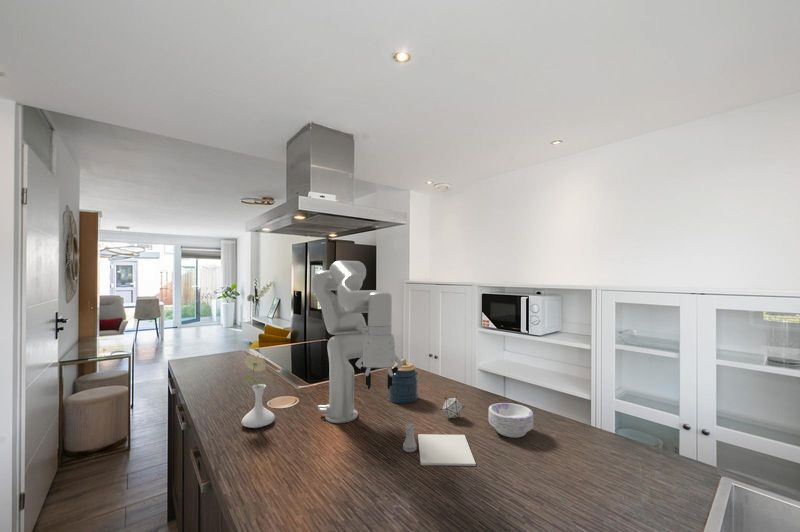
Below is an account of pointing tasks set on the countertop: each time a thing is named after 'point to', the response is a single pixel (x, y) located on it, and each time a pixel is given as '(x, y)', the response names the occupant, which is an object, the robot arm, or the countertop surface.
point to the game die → (452, 408)
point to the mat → (445, 450)
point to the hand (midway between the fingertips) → (379, 387)
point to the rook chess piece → (409, 438)
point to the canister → (404, 384)
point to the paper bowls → (511, 419)
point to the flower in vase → (257, 397)
